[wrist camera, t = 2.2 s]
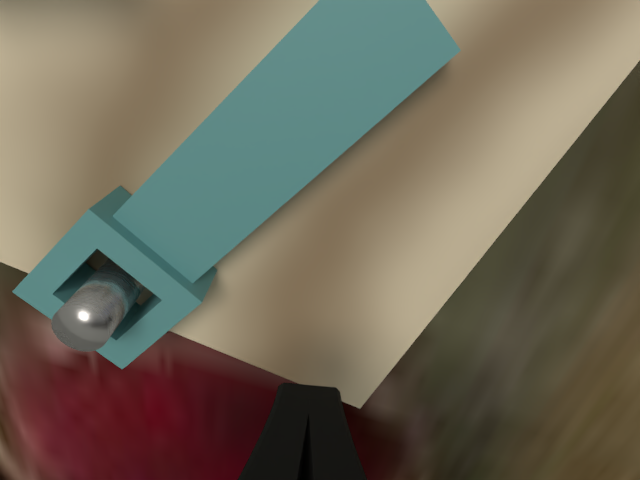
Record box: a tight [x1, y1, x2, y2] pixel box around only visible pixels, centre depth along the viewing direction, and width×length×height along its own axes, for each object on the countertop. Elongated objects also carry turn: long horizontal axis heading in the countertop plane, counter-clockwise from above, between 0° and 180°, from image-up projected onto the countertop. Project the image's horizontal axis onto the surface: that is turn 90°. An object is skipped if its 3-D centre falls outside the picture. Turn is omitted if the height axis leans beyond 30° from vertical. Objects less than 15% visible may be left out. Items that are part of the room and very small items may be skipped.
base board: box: [0, 0, 640, 408], centre depth 12 cm, size 20×15×1 cm
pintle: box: [52, 258, 146, 351], centre depth 12 cm, size 1×1×3 cm
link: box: [13, 0, 461, 369], centre depth 11 cm, size 13×4×2 cm, turn 132°
